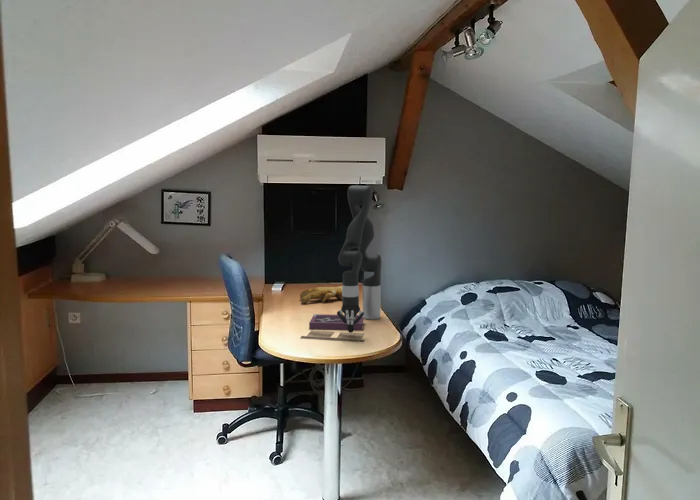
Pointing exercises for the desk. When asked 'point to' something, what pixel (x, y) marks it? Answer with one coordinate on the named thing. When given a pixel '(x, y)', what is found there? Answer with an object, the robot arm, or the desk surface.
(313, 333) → the plank
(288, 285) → the desk surface
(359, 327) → the purple gear tray
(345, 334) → the plank
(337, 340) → the strip
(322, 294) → the toy
